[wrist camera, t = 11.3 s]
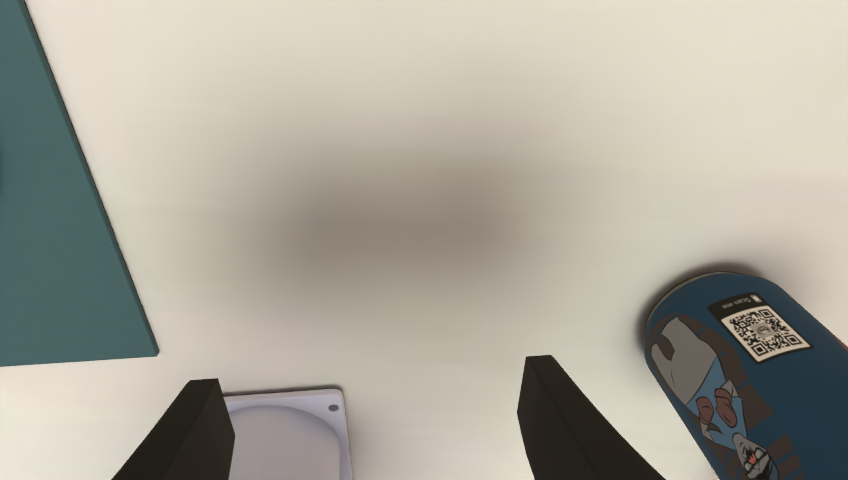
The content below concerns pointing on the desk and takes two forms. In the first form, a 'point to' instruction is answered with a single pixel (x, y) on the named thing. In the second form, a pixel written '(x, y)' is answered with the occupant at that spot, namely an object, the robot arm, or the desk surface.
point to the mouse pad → (54, 225)
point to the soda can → (752, 378)
